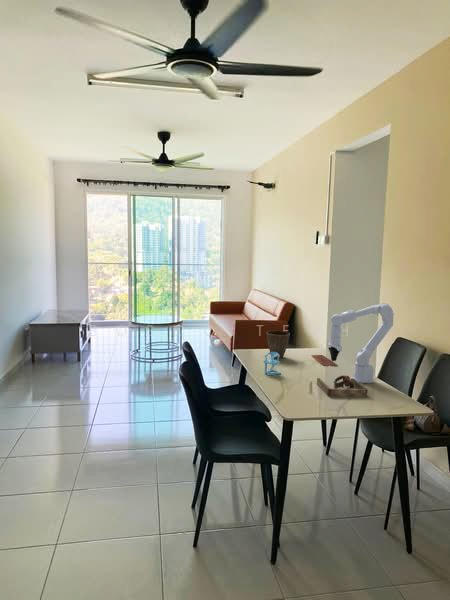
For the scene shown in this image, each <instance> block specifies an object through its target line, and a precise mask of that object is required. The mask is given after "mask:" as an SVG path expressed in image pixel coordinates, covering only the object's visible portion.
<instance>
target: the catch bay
mask: <svg viewBox="0 0 450 600" xmlns="http://www.w3.org/2000/svg"><path fill="white" fill-rule="evenodd" d="M350 379H351V380H352V382H353V384H354V389H350V388H331V387H329V386H328V385H327V384H326V382H325V381H323V379H321V378H320V377H317V378H316V385H317V386H318V388H319V389H321V390H322V392H323V393H324V394H325V395H326V396H327V397H334V398H335V397H346V398H347V397H349V398H350V397H352V398H353V397H355V398H356V397H360V398H363V397H364V398H365V397H368V393H369V392H368V391H369V390H368V389H367V388H366V387H365V386H364V385H363V384H361V383H359V382H357V381H356V380H355V379H354V378H351V377H350Z"/></svg>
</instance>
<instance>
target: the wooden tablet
mask: <svg viewBox="0 0 450 600" xmlns="http://www.w3.org/2000/svg"><path fill="white" fill-rule="evenodd" d="M311 357H312V358H313V359H314V360H315V361H317V362H318V364H320V365H321V366H323V367H336V368H337V367H338V366H339V365H338V364H337V363H336V362H335V361H332V360H331V358H328V357H327V356H325V355H323V354H312V355H311Z"/></svg>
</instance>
